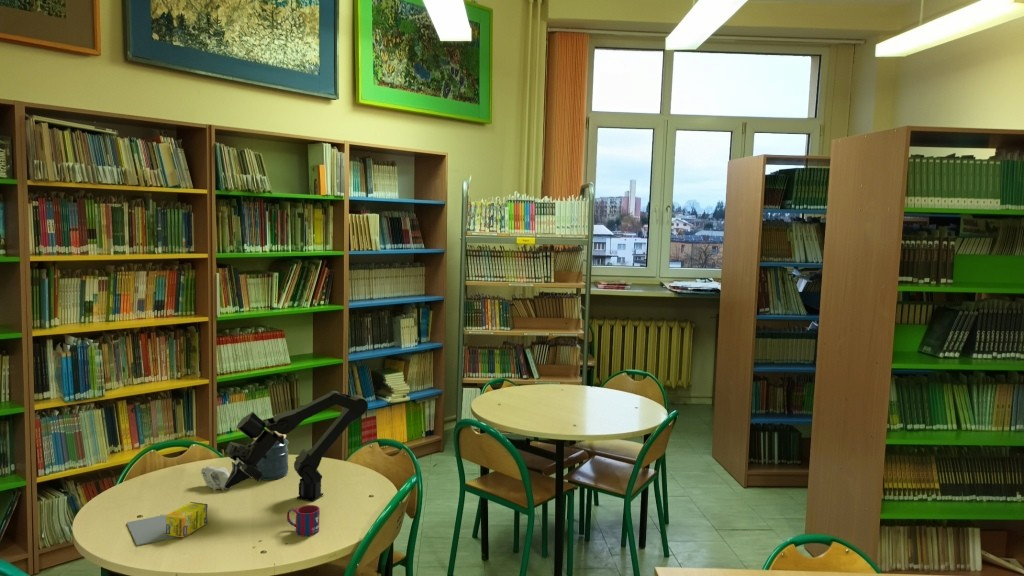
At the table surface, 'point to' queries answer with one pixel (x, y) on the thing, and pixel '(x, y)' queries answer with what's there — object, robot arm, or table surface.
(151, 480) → the table surface
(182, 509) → the supplement box
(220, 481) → the skull
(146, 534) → the mat
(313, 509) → the mug
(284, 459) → the canister
